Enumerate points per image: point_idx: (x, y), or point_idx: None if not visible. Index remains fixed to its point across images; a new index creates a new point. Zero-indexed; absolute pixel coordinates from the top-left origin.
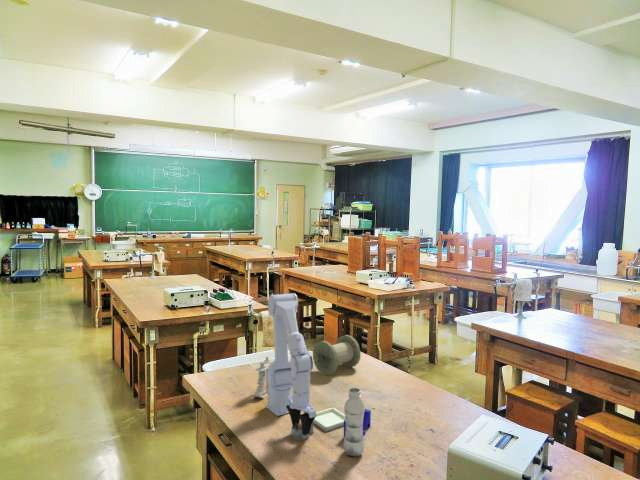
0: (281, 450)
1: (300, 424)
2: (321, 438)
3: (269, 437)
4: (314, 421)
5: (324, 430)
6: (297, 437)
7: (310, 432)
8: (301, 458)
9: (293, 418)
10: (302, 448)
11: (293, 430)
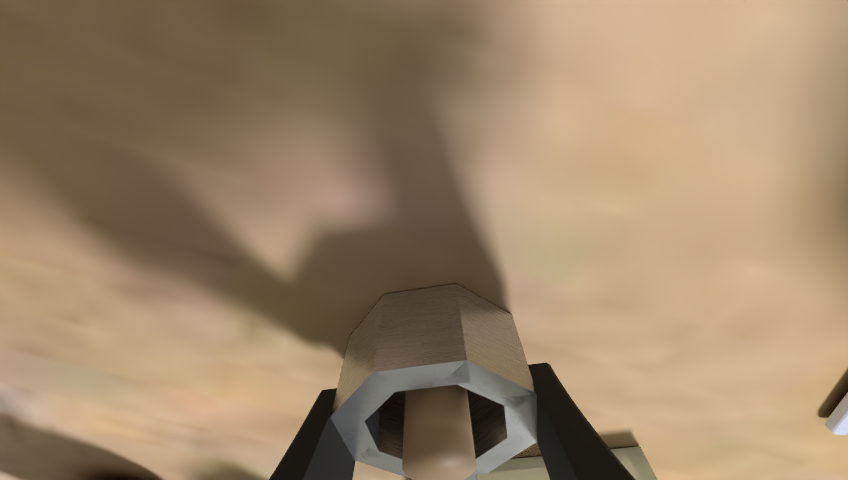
0: (185, 90)
1: (431, 461)
2: None
3: (577, 38)
4: None
5: None
6: (370, 326)
7: None
8: (14, 240)
9: (569, 474)
10: (211, 299)
11: (416, 354)
